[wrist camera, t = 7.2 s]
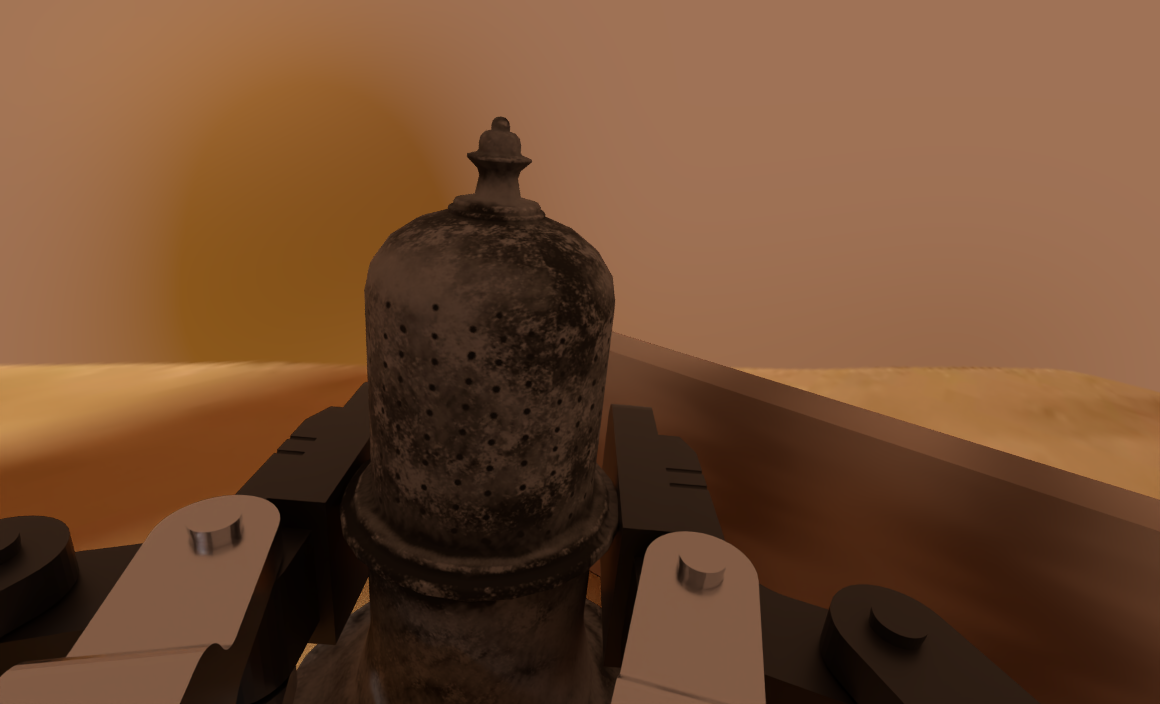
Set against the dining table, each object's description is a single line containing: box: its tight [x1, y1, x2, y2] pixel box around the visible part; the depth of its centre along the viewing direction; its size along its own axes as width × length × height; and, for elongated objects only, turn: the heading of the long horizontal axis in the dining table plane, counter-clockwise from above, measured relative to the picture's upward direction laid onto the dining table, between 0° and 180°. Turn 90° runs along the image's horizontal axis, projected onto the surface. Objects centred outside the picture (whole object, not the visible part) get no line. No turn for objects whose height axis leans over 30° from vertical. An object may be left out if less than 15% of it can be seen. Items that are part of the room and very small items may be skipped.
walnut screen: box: [589, 332, 1160, 704], centre depth 17 cm, size 20×4×8 cm, turn 54°
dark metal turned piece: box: [293, 117, 621, 704], centre depth 8 cm, size 6×6×12 cm
